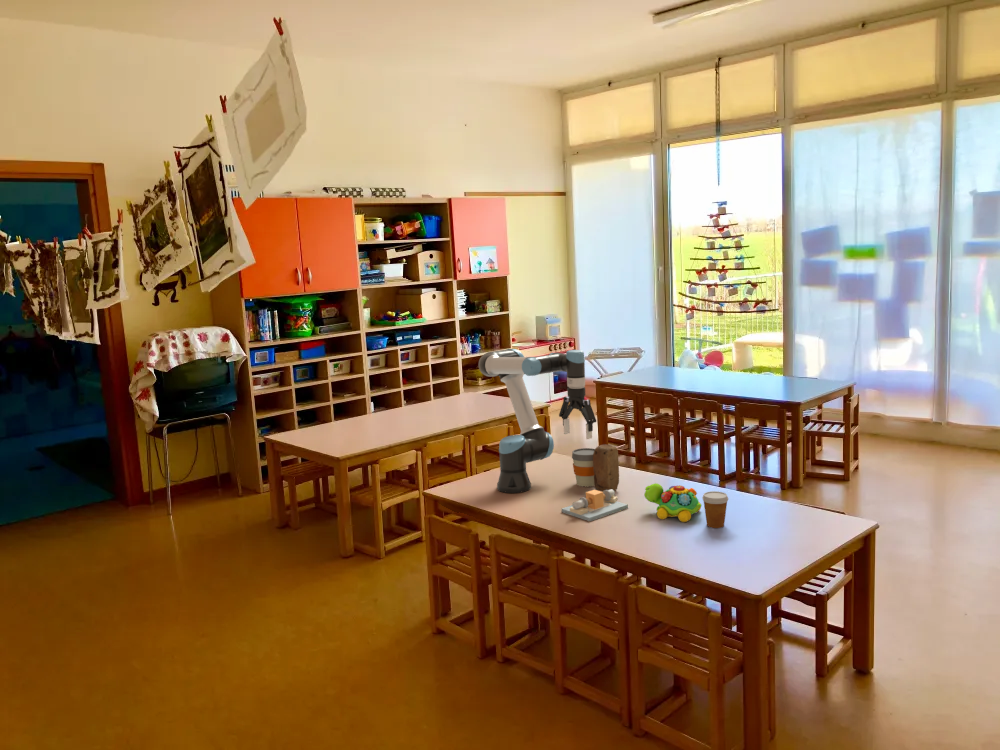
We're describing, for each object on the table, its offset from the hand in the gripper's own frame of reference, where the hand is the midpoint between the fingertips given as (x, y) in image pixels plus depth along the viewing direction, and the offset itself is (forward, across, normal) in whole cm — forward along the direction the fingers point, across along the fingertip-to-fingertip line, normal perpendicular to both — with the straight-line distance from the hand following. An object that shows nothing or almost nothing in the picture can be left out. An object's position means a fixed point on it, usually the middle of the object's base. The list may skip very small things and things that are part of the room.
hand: (577, 436), depth 338 cm
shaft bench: (+27, +17, -8) cm, 33 cm away
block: (+27, +2, +14) cm, 30 cm away
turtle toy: (+27, +42, +10) cm, 51 cm away
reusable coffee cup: (+27, -11, +15) cm, 33 cm away
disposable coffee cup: (+27, +62, +11) cm, 68 cm away
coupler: (+25, +17, -8) cm, 31 cm away
